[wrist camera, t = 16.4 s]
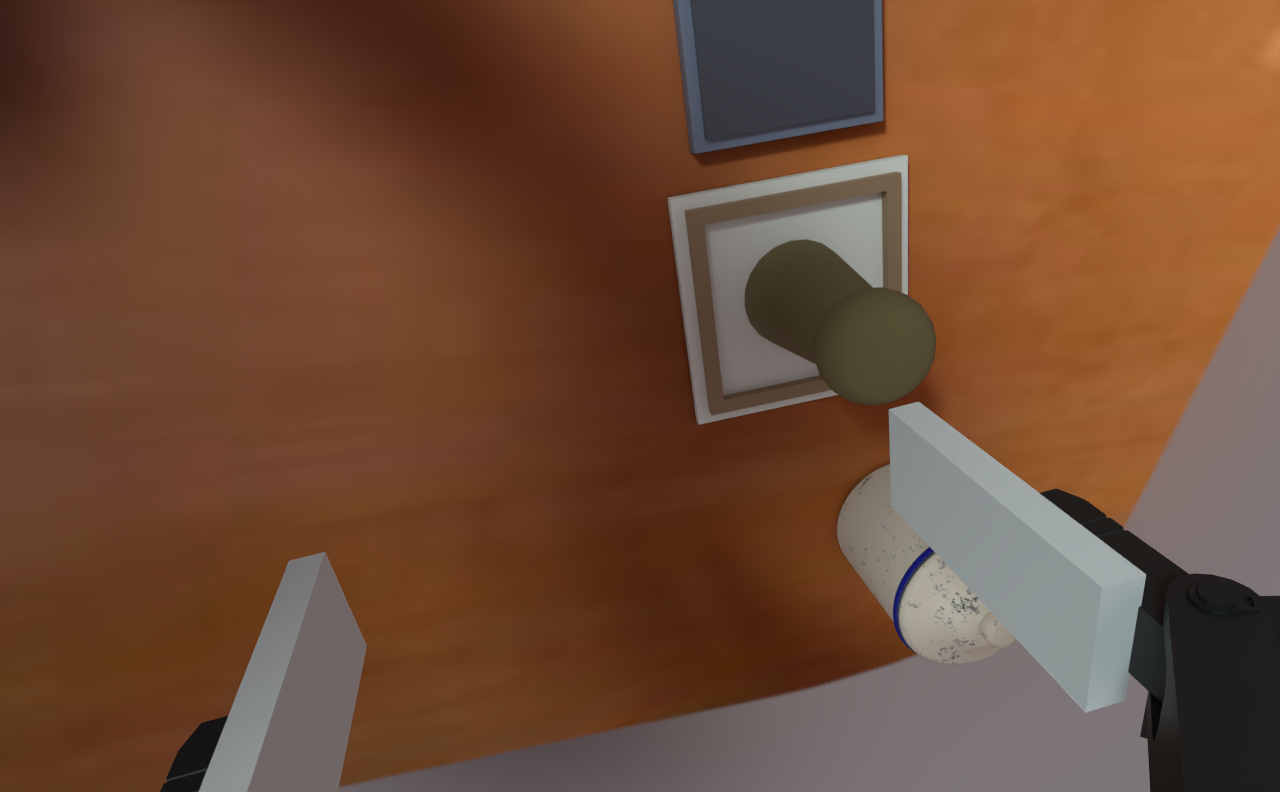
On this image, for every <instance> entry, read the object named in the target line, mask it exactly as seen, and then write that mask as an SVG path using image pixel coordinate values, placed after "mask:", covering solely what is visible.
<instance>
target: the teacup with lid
mask: <svg viewBox="0 0 1280 792" xmlns="http://www.w3.org/2000/svg"><path fill="white" fill-rule="evenodd" d="M837 537H838V542H839V545H840V548H841V550H842V552H843V554H844V556H845V557H846V558H847V560H848V561H849V562H850V564H851V565H852V566H853V568H854V569H855V570H856V572H857V573H858V574H859V576H860V577H861V578H862V580H863V581H864V583H865V584H866V585H867V587H868V588H869V589H870V591H871V592H872V593H873V595H874V596H875V597H876V599H877V600H878V601H879V603H880V604H881V606H882V607H883V608H884V610H885V611H886V612H887V614H888V615H889V616H890V618H891V619H892V620H893V622H894V625H895V628H896V631H897V633H898V635H899V637H900V638H901V640H902V641H903V642H904V644H905V645H906V646H907V647H908V648H910V649H911V650H912V651H914V652H915V653H917V654H918V655H920V656H922V657H924V658H926V659H928V660H931V661H934V662H938V663H943V664H965V663H971V662H975V661H979V660H982V659H985V658H987V657H990V656H992V655H994V654H996V653H998V652H1000V651H1002V650H1003V649H1005V648H1006V647H1008V646H1009V645H1011V644H1012V643H1013V642H1015V641H1016V640H1017V639H1016V638H1015V637H1014V636H1013V635H1012V634H1011V633H1010V632H1009V631H1008V630H1007V628H1006V627H1005V626H1004V625H1003V624H1002V623H1001V622H1000V621H999V620H998V619H997V618H996V617H995V616H994V615H993V614H992V613H991V611H990V610H989V609H988V608H987V607H986V606H985V605H984V604H983V603H982V602H981V601H980V600H979V599H978V598H977V597H976V595H975V594H974V593H973V592H972V591H971V590H970V589H969V588H968V587H967V586H966V585H965V584H964V583H963V582H962V581H961V579H960V578H959V577H958V576H957V575H956V574H955V573H954V572H953V571H952V570H951V569H950V568H949V567H948V566H947V565H946V563H945V562H944V561H943V560H942V559H941V558H940V557H939V556H938V555H937V554H936V553H935V552H934V551H933V550H932V549H931V547H930V546H929V545H928V544H927V543H926V542H925V541H924V540H923V539H922V538H921V537H920V536H919V535H918V534H917V533H916V532H915V530H914V529H913V528H912V527H911V526H910V525H909V524H908V523H907V522H906V521H905V520H904V519H903V518H902V517H901V516H900V514H899V513H898V512H897V511H896V510H895V509H894V508H893V507H892V506H891V480H890V464H888V465H886V466H883V467H881V468H879V469H877V470H875V471H874V472H872V473H871V474H869V475H868V476H866V477H865V478H864V479H863V480H861V481H860V482H859V483H858V484H857V485H856V486H855V488H854V489H853V490H852V491H851V493H850V494H849V495H848V497H847V498H846V500H845V502H844V504H843V506H842V508H841V511H840V514H839V517H838V522H837Z"/></svg>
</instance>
